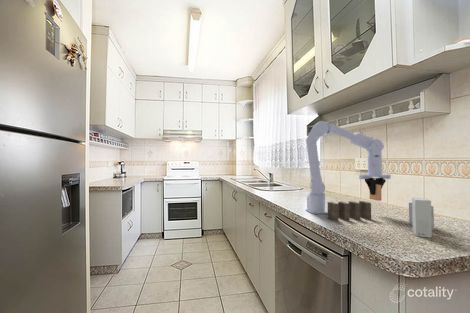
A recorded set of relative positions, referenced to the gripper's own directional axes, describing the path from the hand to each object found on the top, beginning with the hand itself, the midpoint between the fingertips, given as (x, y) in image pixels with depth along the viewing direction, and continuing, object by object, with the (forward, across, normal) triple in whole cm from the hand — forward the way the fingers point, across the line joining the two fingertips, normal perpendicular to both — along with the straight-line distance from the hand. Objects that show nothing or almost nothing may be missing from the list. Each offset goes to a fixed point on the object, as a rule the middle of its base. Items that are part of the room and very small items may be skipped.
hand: (375, 194), depth 107 cm
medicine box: (+10, +2, -21) cm, 23 cm away
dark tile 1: (+9, -24, -5) cm, 26 cm away
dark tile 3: (+9, -14, -5) cm, 17 cm away
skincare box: (+10, -6, -29) cm, 31 cm away
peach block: (+2, 0, 0) cm, 2 cm away
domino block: (+9, -9, -5) cm, 14 cm away
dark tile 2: (+9, -19, -5) cm, 22 cm away
